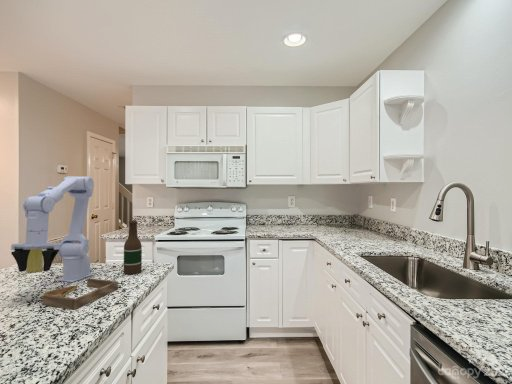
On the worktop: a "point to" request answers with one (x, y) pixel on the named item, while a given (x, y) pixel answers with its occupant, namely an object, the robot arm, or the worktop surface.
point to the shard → (61, 291)
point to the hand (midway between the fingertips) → (34, 271)
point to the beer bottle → (132, 251)
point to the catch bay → (74, 304)
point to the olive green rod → (35, 260)
